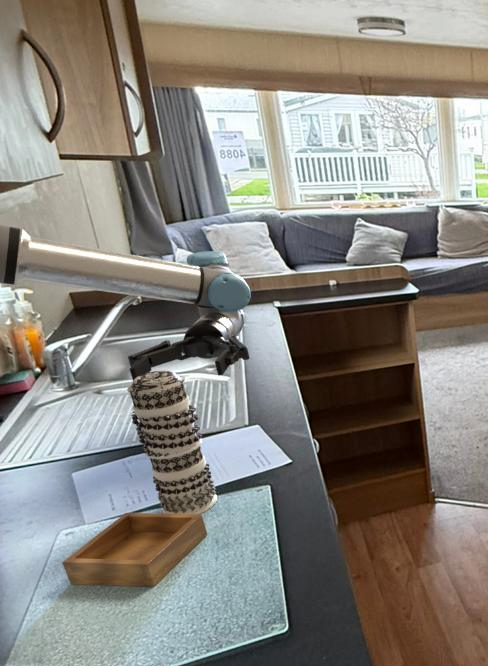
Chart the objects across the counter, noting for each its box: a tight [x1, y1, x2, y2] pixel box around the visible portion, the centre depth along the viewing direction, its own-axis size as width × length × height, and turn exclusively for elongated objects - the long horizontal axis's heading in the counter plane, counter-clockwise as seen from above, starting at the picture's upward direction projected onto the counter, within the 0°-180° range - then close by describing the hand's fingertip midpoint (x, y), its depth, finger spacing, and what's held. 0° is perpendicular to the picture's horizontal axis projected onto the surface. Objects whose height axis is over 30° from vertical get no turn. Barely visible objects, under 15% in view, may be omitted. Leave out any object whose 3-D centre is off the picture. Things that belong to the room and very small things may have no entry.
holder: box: [61, 512, 208, 588], centre depth 102 cm, size 13×13×4 cm
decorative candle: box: [126, 370, 218, 515], centre depth 112 cm, size 9×9×25 cm
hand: (176, 372), depth 116 cm, fingers open, 13 cm apart
